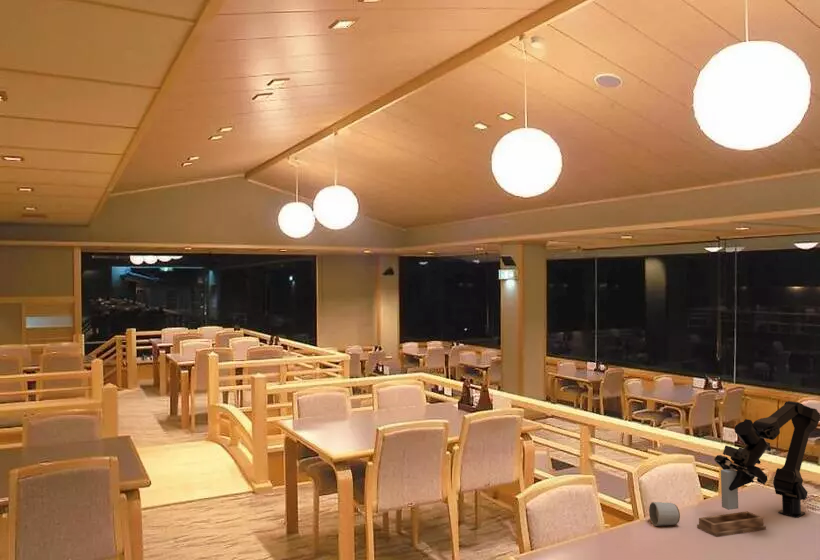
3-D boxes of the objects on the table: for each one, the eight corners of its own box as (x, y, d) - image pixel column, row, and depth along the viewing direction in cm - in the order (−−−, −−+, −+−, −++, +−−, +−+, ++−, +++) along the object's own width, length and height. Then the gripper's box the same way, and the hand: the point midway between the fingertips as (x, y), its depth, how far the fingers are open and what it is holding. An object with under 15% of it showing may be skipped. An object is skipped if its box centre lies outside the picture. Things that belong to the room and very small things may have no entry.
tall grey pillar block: (731, 505, 222) (730, 468, 222) (738, 508, 219) (737, 471, 219) (721, 507, 220) (720, 469, 221) (728, 509, 218) (727, 472, 218)
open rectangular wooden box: (745, 520, 226) (745, 510, 226) (766, 529, 218) (765, 518, 218) (697, 527, 221) (696, 517, 221) (716, 536, 212) (716, 526, 212)
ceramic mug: (681, 527, 221) (681, 504, 221) (658, 529, 220) (658, 506, 220) (666, 517, 231) (665, 495, 232) (644, 518, 231) (643, 496, 231)
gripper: (717, 431, 230) (692, 466, 227) (759, 443, 212) (732, 480, 209) (736, 452, 232) (711, 486, 229) (779, 465, 214) (753, 502, 211)
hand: (726, 488), depth 219 cm, fingers closed on tall grey pillar block, 3 cm apart
